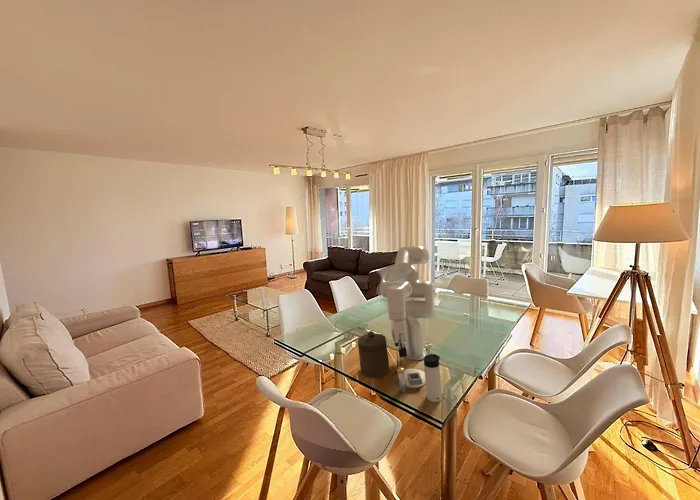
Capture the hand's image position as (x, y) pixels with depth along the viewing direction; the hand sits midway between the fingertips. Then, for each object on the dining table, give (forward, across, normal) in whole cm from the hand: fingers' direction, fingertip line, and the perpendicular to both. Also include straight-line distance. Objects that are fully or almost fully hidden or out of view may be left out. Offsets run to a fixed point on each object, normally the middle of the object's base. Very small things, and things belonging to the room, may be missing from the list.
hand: (400, 351), depth 124 cm
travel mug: (+21, +7, +12) cm, 25 cm away
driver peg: (+19, 0, 0) cm, 19 cm away
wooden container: (+21, -20, -11) cm, 31 cm away
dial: (+19, -7, +6) cm, 21 cm away
